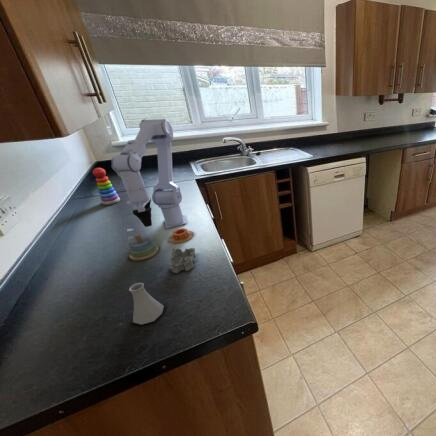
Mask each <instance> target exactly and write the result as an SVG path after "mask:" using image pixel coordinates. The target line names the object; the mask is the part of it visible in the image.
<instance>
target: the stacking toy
mask: <svg viewBox="0 0 436 436" xmlns="http://www.w3.org/2000/svg"><path fill="white" fill-rule="evenodd" d="M92 174H93V176H94V177H96V178H95V181H96V185H97V189H98V193H99V197H100V200H101V204H102V205H105V206H109V205H114V204H117V203H119V202H120V201H121V198H120V196H119V195H118V193H117V191H116V190H115V187H113V184H112V183H111V180H109V177H108V176H106V175H107V172H106V170H105V169H104V168H102V167H95V168H94V169H93V170H92Z"/></svg>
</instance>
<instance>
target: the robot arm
mask: <svg viewBox="0 0 436 436" xmlns="http://www.w3.org/2000/svg"><path fill="white" fill-rule="evenodd" d="M138 126H139V130H138V133H137V134H136V137H135V139H130V140H128V141H127V142H126V143H127V144H126V145H125V146H124V147H123V149H122V150H121V152H120V153H119V154H115V155H114V156H113V157H112V158H111V168H112V170H113V171H114V172H115V173H116V174H117V176H118V177H119V178H121V181H122V184H123V187H124V188H125V191H126V193H127V196H128V198H129V200H127V201H126V204H127V205H129V206H130V205H131V206H133V207H135V208H136V209H133V210H132V214H133V215H134V216H135V217H136V218H138V219H139V221H140V222H141V223H142V225H143V226H144V227H145V228H148V227H152V225H153V223H152V207H151V202H153V204H154V205H156V206H157V207H158V208H160V210H161V214H162V216H163V219H164V225H165V229H171V228H174V227H180V226H183V225H186V224H187V221H186V218H185V215H184V214H183V212H182V208H181V206H180V204H181V203H182V200H183V196H182V192H181V189H180V188H181V187H180V186H179V185H177V184H176V183H174V176H173V175H174V174H173V153H172V151H173V150H172V142H174V127H173V125H172V123H171V121H170V120H169V119H168V118H162V119H161V118H159V119H158V118H156V119H154V118H153V119H145V118H144V119H141V121H140V122H139V125H138ZM149 142H152V143H155V144H156V148H157V149H156V150H157V170H158V173H157V174H158V182H157V183H156V185H154V186H153V188H152V189H153V190H152V194H151V197H150V196H149V194H148V191H147V188H146V186H145V182H144V180H143V177H142V174H141V172H140V170H141V169H142V168H141V167H142V158H143V156H144V155H145V154H146V152H147V144H148V143H149Z"/></svg>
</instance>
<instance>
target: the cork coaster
mask: <svg viewBox="0 0 436 436" xmlns="http://www.w3.org/2000/svg"><path fill="white" fill-rule="evenodd" d="M187 231H188V234H189V236H188V237H187V238H185V239H181V240H175V239H174V237H173V234H171V235H170V237H169V238H168V241H169V242H170V243H171V244H181V243H185V242H187V241H189V240H191V239H192V238H193V237H194V235H195V234H194V232H193V231H192V230H187Z"/></svg>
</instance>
